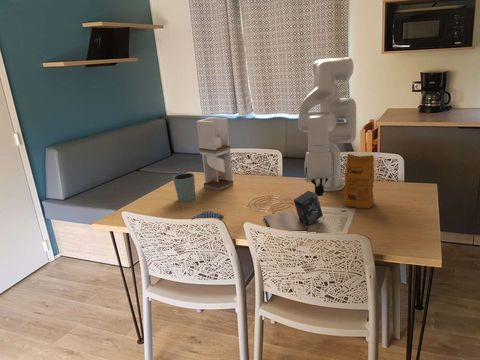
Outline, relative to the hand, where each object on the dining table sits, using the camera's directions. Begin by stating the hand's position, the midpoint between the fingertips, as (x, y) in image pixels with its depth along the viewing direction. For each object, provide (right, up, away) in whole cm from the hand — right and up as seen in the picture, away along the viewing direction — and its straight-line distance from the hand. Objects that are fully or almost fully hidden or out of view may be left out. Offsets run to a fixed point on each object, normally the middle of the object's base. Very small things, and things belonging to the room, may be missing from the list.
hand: (319, 195), depth 156 cm
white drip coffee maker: (-42, +3, +57) cm, 71 cm away
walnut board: (-13, -12, +2) cm, 18 cm away
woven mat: (-44, -12, +15) cm, 48 cm away
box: (-2, -10, +4) cm, 11 cm away
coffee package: (+20, -5, +17) cm, 27 cm away
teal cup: (-57, -4, +41) cm, 70 cm away
